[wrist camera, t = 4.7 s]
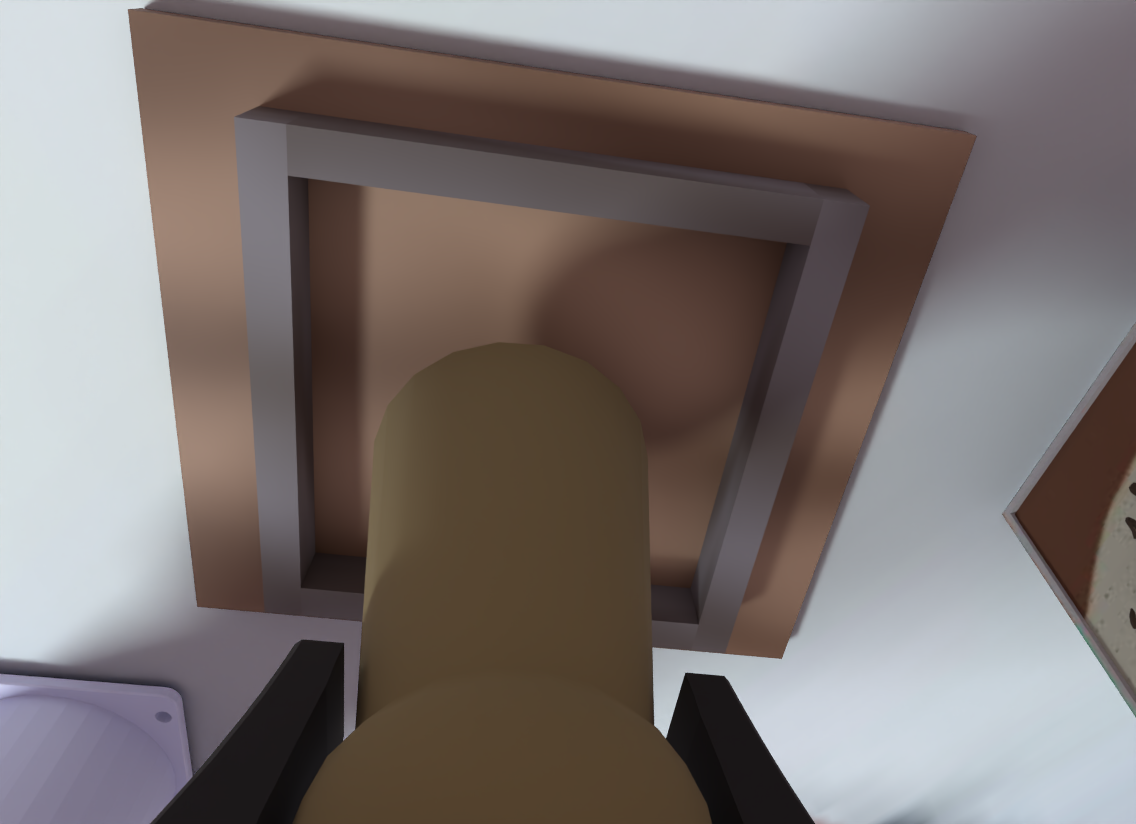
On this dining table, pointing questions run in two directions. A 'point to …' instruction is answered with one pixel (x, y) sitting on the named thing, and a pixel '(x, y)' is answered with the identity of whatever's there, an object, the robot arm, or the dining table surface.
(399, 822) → the cork
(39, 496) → the dining table surface
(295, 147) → the framed serving tray
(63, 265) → the dining table surface
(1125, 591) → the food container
